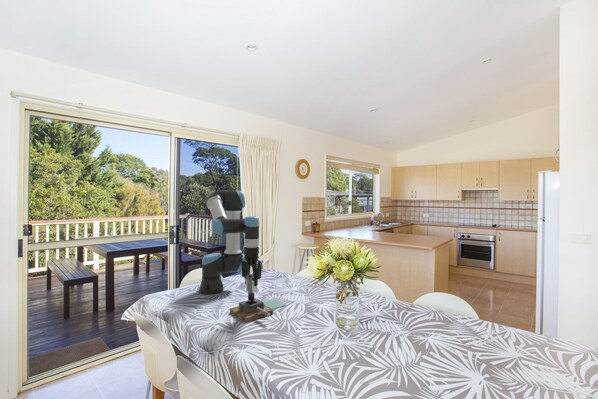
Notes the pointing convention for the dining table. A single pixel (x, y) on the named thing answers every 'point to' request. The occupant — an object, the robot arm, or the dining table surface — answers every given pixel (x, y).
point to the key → (250, 288)
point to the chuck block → (251, 310)
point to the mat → (274, 304)
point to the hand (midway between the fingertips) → (251, 291)
